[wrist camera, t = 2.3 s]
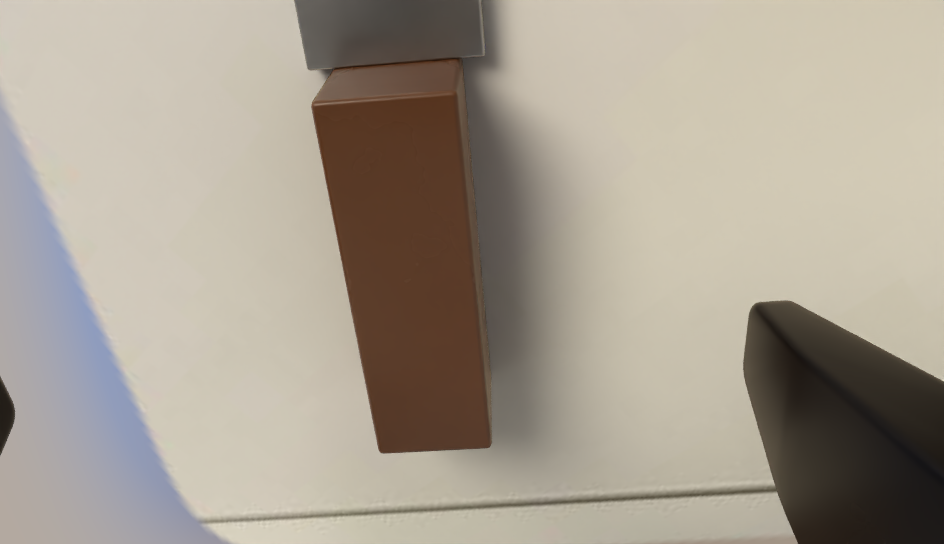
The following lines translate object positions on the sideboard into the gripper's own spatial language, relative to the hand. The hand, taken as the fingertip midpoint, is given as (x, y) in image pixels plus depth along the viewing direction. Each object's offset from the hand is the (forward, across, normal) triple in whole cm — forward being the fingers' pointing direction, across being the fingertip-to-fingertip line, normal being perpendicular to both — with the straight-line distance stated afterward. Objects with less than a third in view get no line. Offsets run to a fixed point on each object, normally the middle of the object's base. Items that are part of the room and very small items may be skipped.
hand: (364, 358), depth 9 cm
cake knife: (+6, 0, -2) cm, 6 cm away
